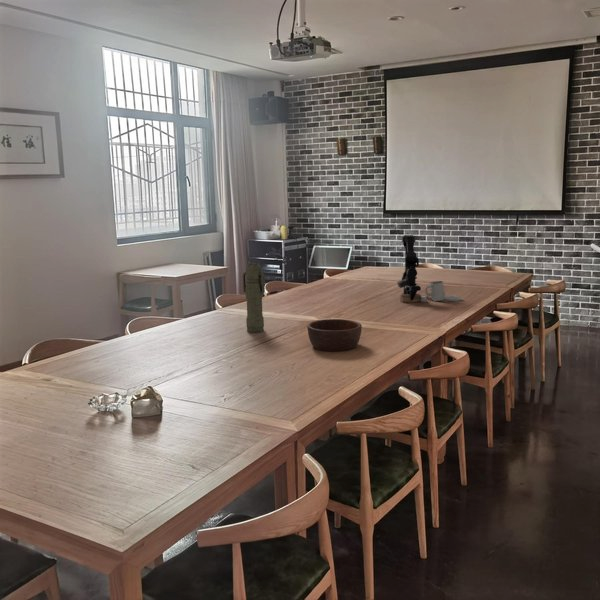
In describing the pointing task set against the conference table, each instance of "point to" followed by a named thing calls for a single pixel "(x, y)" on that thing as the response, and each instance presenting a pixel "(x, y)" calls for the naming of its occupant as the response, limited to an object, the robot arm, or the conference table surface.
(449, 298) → the mat
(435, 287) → the mug
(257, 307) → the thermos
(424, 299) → the panel
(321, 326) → the wooden bowl
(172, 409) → the conference table surface
